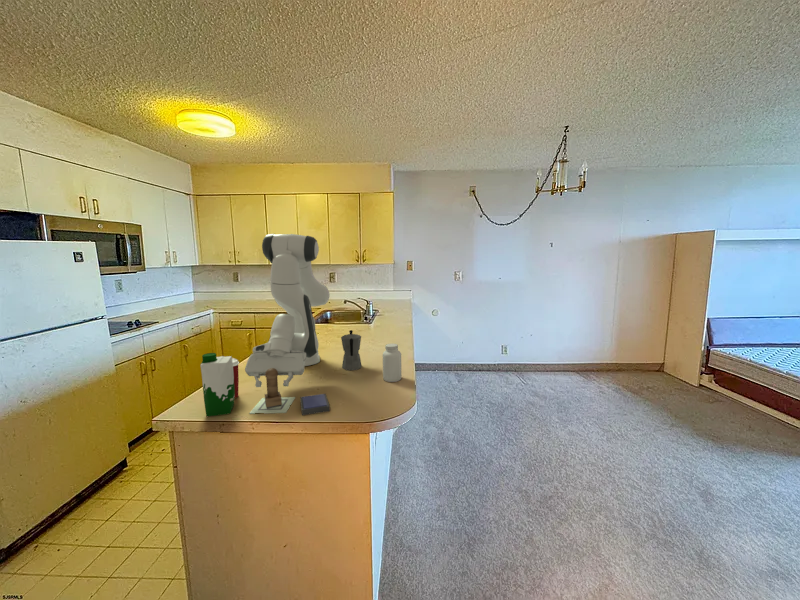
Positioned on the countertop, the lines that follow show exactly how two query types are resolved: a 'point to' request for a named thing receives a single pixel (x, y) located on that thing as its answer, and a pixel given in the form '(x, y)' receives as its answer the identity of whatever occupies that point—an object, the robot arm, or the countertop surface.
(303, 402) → the ink pad
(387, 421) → the countertop surface
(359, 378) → the countertop surface
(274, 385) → the stamp
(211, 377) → the milk carton
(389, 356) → the pill bottle
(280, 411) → the card
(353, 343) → the coffeepot
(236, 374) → the paper cup
